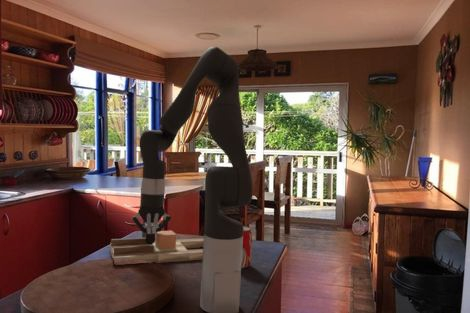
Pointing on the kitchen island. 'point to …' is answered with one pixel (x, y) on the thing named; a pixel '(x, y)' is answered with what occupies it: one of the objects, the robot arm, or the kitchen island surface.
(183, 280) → the kitchen island surface
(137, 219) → the robot arm
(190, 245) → the wooden fixture board
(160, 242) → the block
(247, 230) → the soda can
